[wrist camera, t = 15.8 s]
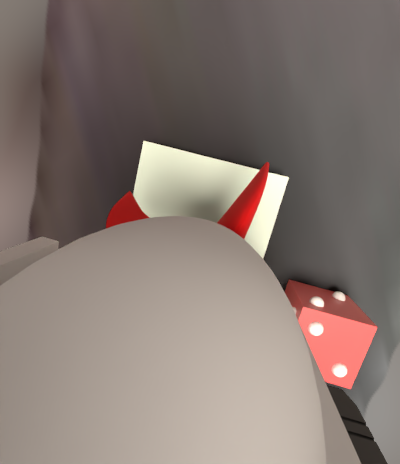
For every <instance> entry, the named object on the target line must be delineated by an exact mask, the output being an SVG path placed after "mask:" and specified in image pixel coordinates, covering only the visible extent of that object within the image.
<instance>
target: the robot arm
mask: <svg viewBox="0 0 400 464" xmlns="http://www.w3.org/2000/svg"><path fill="white" fill-rule="evenodd" d="M58 246H59V241H56V240H52V239H48V238H45V237H40V238H37V239H34V240H31V241H28V242H25V243H22V244H19V245H17V246H14V247H11V248H8V249H5V250H2V251H0V286H1V285H2V284H3V283H5V282H6V281H8V280H9V279H11V278H12V277H14V276H15V275H17V274H18V273H19V272H21V271H22V270H24V269H25V268H27V267H28V266H30V265H31V264H33V263H34V262H36V261H38V260H40V259H41V258H43V257H45V256H47V255H49V254H51V253H53V252H55V251H56V250H58ZM297 320H298V319H297ZM298 323H299V322H298ZM299 325H300V324H299ZM300 328H301V326H300ZM301 331H302V328H301ZM302 333H303V331H302ZM303 336H304V339H305V341H306V344H307V347H308V350H309V354H310V358H311V362H312V366H313V371H314V376H315V380H316V385H317V389H318V394H319V398H320V403H321V410H322V420H323V429H324V439H325V449H326V464H387V462H386V460H385V458H384V456H383V454H382V453H381V451H380V449H379V447H378V445H377V443H376V442H374V438H373V436H372V434H371V432H370V430H369V428H368V427H367V426H366V422H365V420H364V419H363V417H362V415H361V413H360V411H359V409H358V407H357V406H356V405H355V403H354V402H353V401H352V400H351V399H350V398H349V397H348V396H347V395H346V393H345V392H344V391H343V390H341V389H338V388H334V387H331V386H327V385H326V383H325V380H324V378H323V376H322V374H321V371H320V369H319V367H318V365H317V362H316V360H315V358H314V356H313V353H312V351H311V349H310V346H309V344H308V342H307V340H306V337H305V335H304V333H303Z"/></svg>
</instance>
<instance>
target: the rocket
mask: <svg viewBox="0 0 400 464" xmlns="http://www.w3.org/2000/svg"><path fill="white" fill-rule="evenodd" d="M268 171H269V163H268V162H266V163H265V164H264V165H263V167H262V168H261V169H260V170H259V172H258V173H257V174H256V175H255V177H254V178H253V179H252V181H251V182H250V183H249V184H248V186H247V187H246V188H245V189H244V190H243V192H242V193H241V194H240V195H239V196H238V198H237V199H236V200H235V201H234V203H233V204H232V205H231V207H230V208H229V209H228V210H227V212H226V213H225V214H224V215H223V216H222V218H221V219H220V220H219V221H218V222H217V223H215V222H212V221H209V220H205V219H201V218H195V217H186V216H166V217H153V218H149V217H148V216H147V215H146V214H145V213H144V212H143V211H142V210H141V208H140V207H139V205H138V203H137V202H136V200H135V198H134V196H133V195H132V193H131V192H130V191H129V192H128V193H127V194H125V195H124V196H123V197H122V198H121V199H120V200H119V201H118V202H117V203H116V204H115V205H114V206H113V208H112V209H111V211H110V213H109V215H108V218H107V222H106V229H104V230H101V231H98V232H96V233H93V234H90V235H87V236H85V237H82V238H80V239H78V240H75V241H73V242H71V243H70V244H68V245H66V246H64V247H62V248H60V249H58V250H56V251H55V252H53V253H51V254H49V255H47V256H45V257H43V258H41V259H40V260H38V261H36V262H34V263H33V264H31V265H30V266H28V267H27V268H25V269H24V270H22V271H21V272H19V273H18V274H17V275H15V276H14V277H12V278H11V279H9V280H8V281H6V282H5V283H3V284H2V285H1V286H0V464H326V449H325V439H324V429H323V420H322V410H321V403H320V398H319V394H318V389H317V385H316V380H315V376H314V371H313V366H312V362H311V358H310V354H309V350H308V347H307V344H306V341H305V339H304V336H303V333H302V331H301V328H300V325H299V323H298V320H297V317H296V315H295V312H294V310H293V308H292V305H291V303H290V301H289V300H288V298H287V296H286V294H285V292H284V290H283V288H282V287H281V285H280V283H279V281H278V279H277V278H276V276H275V275H274V273H273V272H272V270H271V269H270V268H269V266H268V265H267V264H266V262H265V261H264V260H263V258H262V257H261V256H260V255H259V254H258V253H257V251H256V250H255V249H254V248H253V247H252V246H251V245H250V244H248V243H247V242H246V241H245V240H244V238H245V236H246V234H247V232H248V229H249V227H250V225H251V223H252V220H253V218H254V215H255V213H256V211H257V208H258V205H259V203H260V200H261V197H262V195H263V192H264V189H265V186H266V182H267V177H268Z"/></svg>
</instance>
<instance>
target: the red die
mask: <svg viewBox="0 0 400 464" xmlns="http://www.w3.org/2000/svg"><path fill="white" fill-rule="evenodd" d="M285 294H286V296H287V298H288V300H289V301H290V303H291V305H292V308H293V310H294V312H295V315H296V317H297V319H298V322H299V324H300V326H301V328H302V331H303V333H304V335H305V337H306V340H307V342H308V344H309V346H310V349H311V351H312V353H313V356H314V358H315V360H316V362H317V365H318V367H319V369H320V371H321V374H322V376H323V378H324V380H325V382H327V383H331V384H334V385H338V386H341V387H345V388H348V389H351V387H352V385H353V382H354V380H355V378H356V375H357V373H358V371H359V369H360V366H361V364H362V362H363V359H364V357H365V355H366V353H367V350H368V348H369V346H370V343H371V341H372V339H373V337H374V334H375V332H376V330H377V326H376V325H375V324H374V323H373V322H372V321H371V320H370V319H369V317H368V316H367V315H366V314H365V313H364V312H363V311H362V310H361V309H360V308H359V307H358V306H357V305H356V304H355V303H354V301H353V300H352V299H351V298H350V297H349V296H348V295H344V294H343V293H342V292H339V291H336V292H333V291H330V290H326V289H322V288H319V287H315V286H311V285H308V284H304V283H300V282H297V281H293V280H288V283H287V286H286V289H285Z"/></svg>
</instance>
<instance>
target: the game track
mask: <svg viewBox="0 0 400 464" xmlns="http://www.w3.org/2000/svg"><path fill="white" fill-rule="evenodd" d="M258 172H259V170H258V169H254V168H250V167H246V166H242V165H238V164H234V163H230V162H226V161H222V160H218V159H214V158H210V157H206V156H202V155H198V154H194V153H191V152H187V151H183V150H179V149H175V148H171V147H167V146H163V145H159V144H155V143H151V142H147V141H143V146H142V151H141V156H140V161H139V167H138V172H137V177H136V182H135V187H134V193H133V196H134V198H135V200H136V202H137V203H138V205H139V207H140V208H141V210H142V211H143V212H144V213H145V214H146V215H147V216H148V217H149V218H153V217H166V216H186V217H195V218H201V219H205V220H209V221H212V222H215V223H217V222H218V221H219V220H220V219H221V218H222V216H223V215H224V214H225V213H226V212H227V210H228V209H229V208H230V207H231V205H232V204H233V203H234V201H235V200H236V199H237V198H238V196H239V195H240V194H241V193H242V192H243V190H244V189H245V188H246V187H247V186H248V184H249V183H250V182H251V181H252V179H253V178H254V177H255V175H256V174H257V173H258ZM288 179H289V177H285V176H281V175H277V174H273V173H269V172H268V177H267V182H266V186H265V189H264V192H263V195H262V197H261V200H260V203H259V205H258V208H257V211H256V213H255V215H254V218H253V220H252V223H251V225H250V227H249V229H248V232H247V234H246V236H245V238H244V240H245V241H246V242H247V243H248V244H250V245H251V246H252V247H253V248H254V249H255V250H256V251H257V253H258V254H259V255H260V256H261V257H262V258H264V255H265V252H266V249H267V245H268V242H269V239H270V236H271V233H272V229H273V226H274V223H275V220H276V217H277V214H278V210H279V207H280V204H281V201H282V198H283V194H284V191H285V188H286V185H287V182H288Z"/></svg>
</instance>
